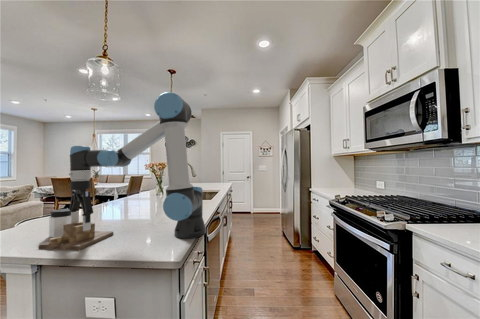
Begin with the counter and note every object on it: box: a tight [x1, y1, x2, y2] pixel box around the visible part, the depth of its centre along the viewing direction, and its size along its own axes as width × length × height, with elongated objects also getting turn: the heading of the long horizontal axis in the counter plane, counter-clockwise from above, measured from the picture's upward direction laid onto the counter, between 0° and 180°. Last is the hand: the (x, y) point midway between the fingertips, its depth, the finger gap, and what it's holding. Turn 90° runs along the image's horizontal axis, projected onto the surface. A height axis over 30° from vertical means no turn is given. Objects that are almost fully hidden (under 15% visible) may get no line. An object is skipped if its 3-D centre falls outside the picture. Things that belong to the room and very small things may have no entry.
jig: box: [38, 230, 114, 251], centre depth 99 cm, size 18×20×6 cm
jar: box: [48, 208, 71, 238], centre depth 108 cm, size 9×8×12 cm
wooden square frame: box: [49, 220, 96, 245], centre depth 97 cm, size 14×9×6 cm, turn 144°
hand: (80, 228), depth 99 cm, fingers open, 13 cm apart
